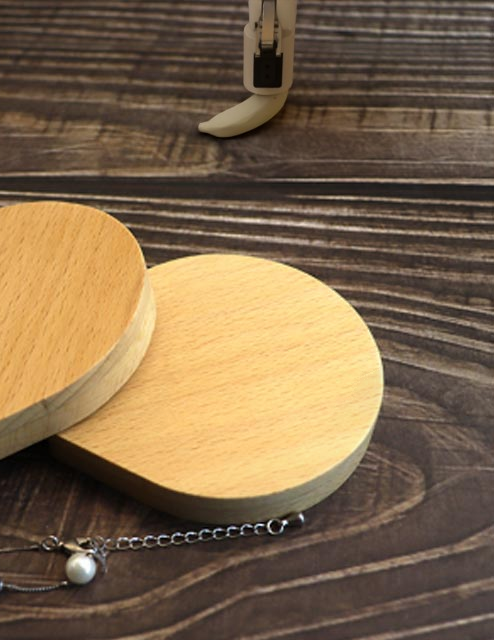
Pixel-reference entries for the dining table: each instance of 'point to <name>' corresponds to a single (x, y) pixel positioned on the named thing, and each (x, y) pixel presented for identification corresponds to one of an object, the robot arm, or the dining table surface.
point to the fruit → (245, 115)
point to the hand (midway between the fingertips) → (268, 70)
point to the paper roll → (288, 59)
